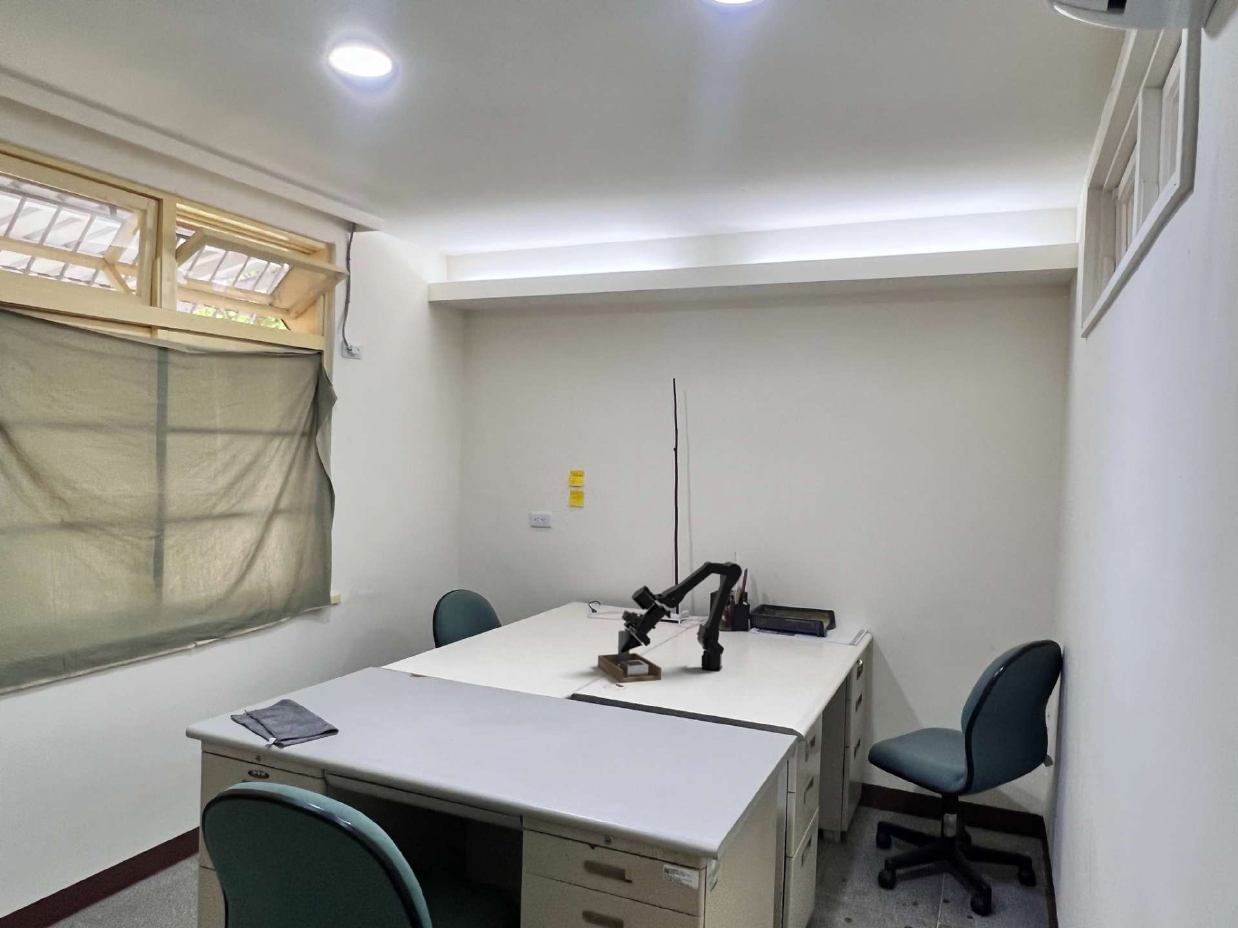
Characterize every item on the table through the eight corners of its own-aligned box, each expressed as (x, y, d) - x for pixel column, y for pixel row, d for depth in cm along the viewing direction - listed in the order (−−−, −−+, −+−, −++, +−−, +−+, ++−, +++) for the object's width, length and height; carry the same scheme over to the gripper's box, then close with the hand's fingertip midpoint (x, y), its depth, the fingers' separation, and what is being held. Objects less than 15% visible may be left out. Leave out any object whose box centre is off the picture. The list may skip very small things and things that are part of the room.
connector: (630, 667, 293) (631, 630, 293) (627, 670, 289) (627, 633, 289) (619, 666, 294) (620, 629, 294) (616, 668, 291) (617, 632, 291)
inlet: (639, 672, 288) (639, 659, 288) (648, 678, 281) (648, 664, 281) (619, 674, 285) (619, 661, 285) (627, 679, 278) (627, 666, 278)
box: (635, 665, 301) (635, 652, 301) (660, 680, 279) (661, 667, 279) (597, 667, 295) (598, 655, 295) (620, 684, 274) (620, 670, 274)
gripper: (629, 598, 302) (599, 629, 300) (642, 607, 284) (609, 640, 281) (650, 619, 304) (620, 650, 301) (663, 629, 285) (631, 662, 283)
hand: (619, 650), depth 292 cm, fingers closed on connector, 4 cm apart
